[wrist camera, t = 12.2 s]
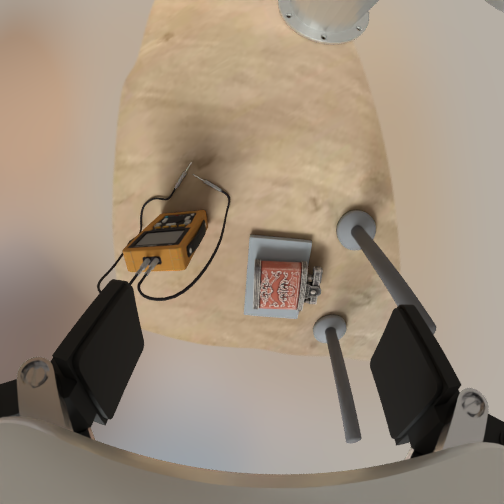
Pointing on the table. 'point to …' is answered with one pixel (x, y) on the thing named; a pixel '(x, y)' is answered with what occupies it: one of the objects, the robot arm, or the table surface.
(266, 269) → the lighter
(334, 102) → the table surface
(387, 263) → the post
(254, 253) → the mat
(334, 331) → the far cord post
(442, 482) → the robot arm
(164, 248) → the multimeter
